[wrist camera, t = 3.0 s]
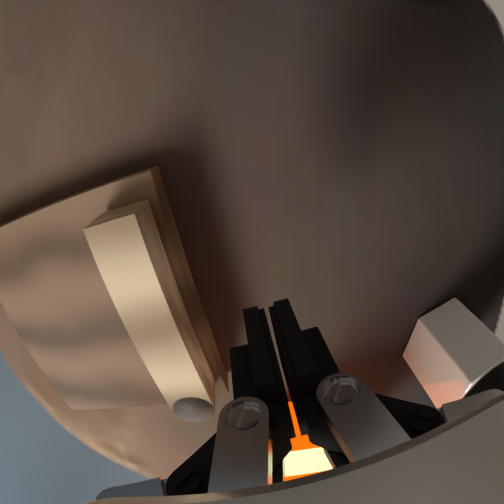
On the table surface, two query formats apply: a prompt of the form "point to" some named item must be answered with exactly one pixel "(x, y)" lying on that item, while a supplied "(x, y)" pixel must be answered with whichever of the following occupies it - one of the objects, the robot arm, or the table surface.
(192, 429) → the table surface
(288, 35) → the table surface
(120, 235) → the hinged leg
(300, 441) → the orange juice
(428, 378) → the jar
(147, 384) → the stool top
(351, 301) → the table surface
